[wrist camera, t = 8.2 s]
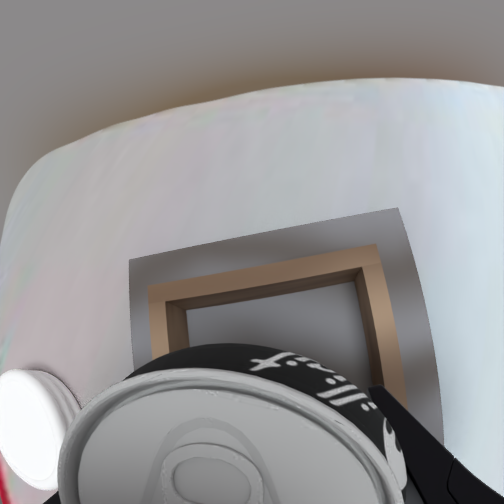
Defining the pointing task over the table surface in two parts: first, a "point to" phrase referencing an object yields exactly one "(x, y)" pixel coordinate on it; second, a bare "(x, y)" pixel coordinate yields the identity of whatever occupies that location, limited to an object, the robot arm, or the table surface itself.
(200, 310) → the loading bay
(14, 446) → the white ridged disc
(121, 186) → the table surface
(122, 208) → the table surface
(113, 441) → the beverage can
